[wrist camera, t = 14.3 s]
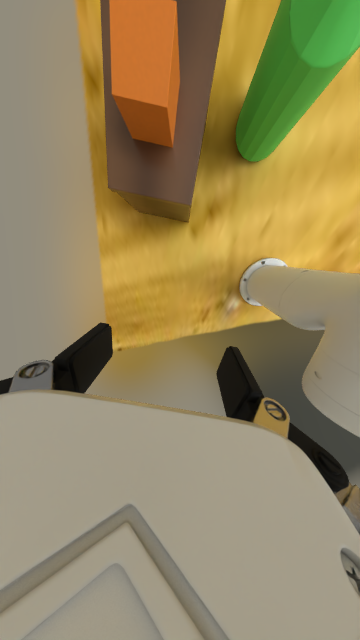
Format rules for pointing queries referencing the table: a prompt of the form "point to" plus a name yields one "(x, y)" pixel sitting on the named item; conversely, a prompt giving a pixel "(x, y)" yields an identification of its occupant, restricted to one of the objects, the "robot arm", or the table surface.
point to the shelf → (194, 93)
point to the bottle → (295, 69)
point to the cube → (145, 67)
